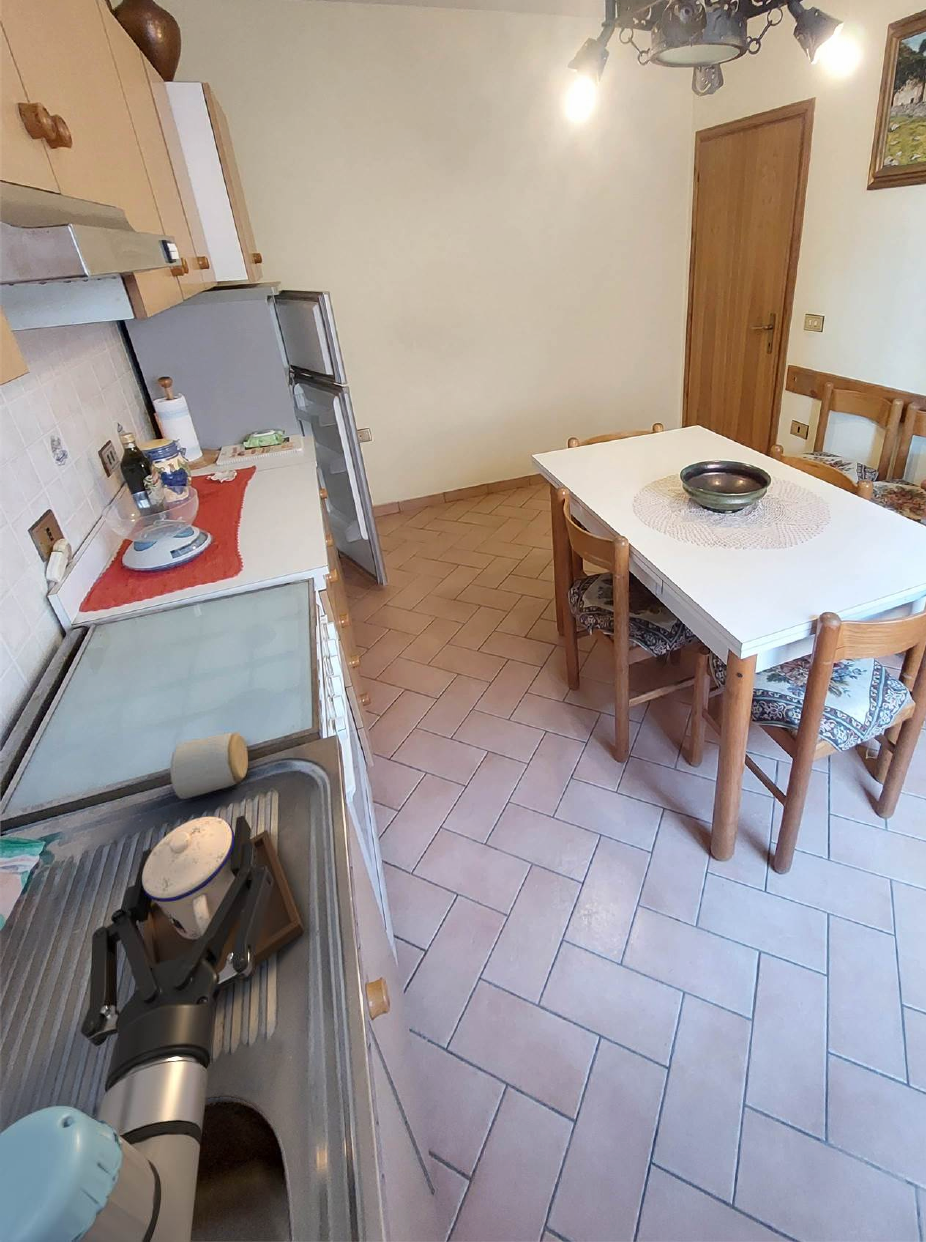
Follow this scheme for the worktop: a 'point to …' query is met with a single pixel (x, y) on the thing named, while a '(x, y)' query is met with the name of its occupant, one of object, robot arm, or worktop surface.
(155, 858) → the teacup with lid
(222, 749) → the ceramic mug
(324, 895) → the worktop surface
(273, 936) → the rectangular tray
